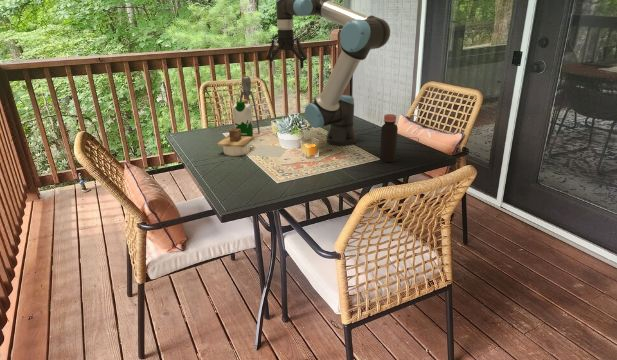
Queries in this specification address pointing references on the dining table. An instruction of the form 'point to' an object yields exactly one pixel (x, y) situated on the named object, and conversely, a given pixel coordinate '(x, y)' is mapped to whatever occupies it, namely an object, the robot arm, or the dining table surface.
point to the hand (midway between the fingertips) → (287, 74)
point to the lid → (235, 139)
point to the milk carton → (243, 118)
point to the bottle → (388, 139)
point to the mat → (268, 151)
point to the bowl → (236, 150)
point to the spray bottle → (246, 88)
